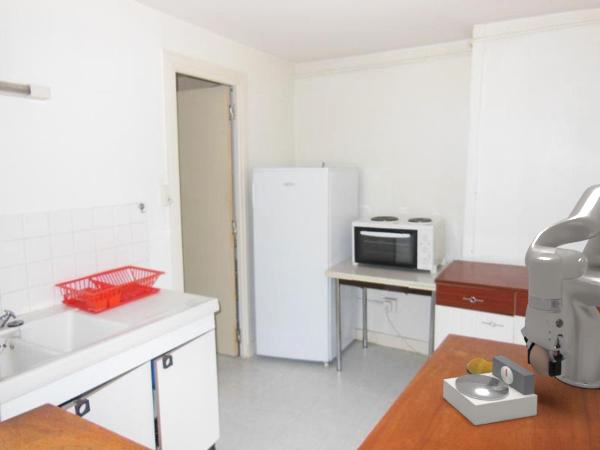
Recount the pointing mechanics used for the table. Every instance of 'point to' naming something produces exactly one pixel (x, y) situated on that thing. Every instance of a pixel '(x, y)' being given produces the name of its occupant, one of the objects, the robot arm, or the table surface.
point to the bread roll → (479, 366)
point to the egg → (540, 360)
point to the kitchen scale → (511, 407)
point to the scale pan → (482, 387)
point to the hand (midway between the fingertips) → (543, 368)
